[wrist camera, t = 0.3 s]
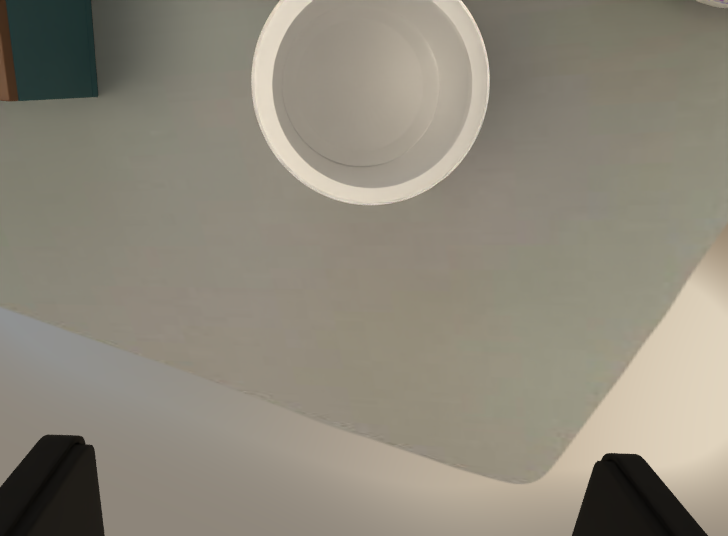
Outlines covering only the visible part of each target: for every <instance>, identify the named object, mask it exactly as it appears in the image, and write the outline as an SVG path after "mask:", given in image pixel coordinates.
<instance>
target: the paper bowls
mask: <svg viewBox="0 0 728 536" xmlns="http://www.w3.org/2000/svg"><path fill="white" fill-rule="evenodd" d="M695 1H697V2H700V3H704V4H707V5H710V6H714V7H718V8H728V0H695Z"/></svg>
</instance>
